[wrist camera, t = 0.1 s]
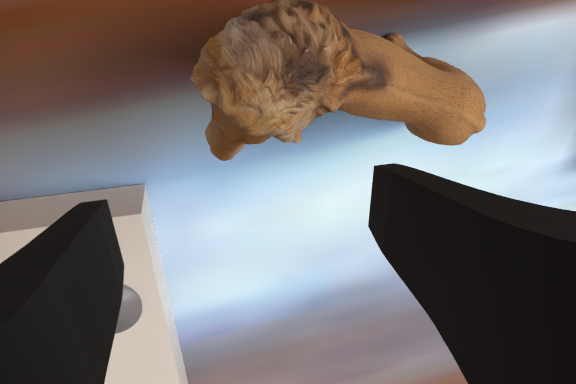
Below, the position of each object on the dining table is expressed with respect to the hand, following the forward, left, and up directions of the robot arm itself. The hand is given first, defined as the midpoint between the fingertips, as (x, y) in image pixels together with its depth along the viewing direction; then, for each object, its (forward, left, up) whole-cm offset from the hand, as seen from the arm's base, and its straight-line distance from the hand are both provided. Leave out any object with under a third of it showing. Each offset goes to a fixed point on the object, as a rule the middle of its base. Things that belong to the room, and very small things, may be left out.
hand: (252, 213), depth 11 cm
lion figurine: (+2, -6, -10) cm, 12 cm away
